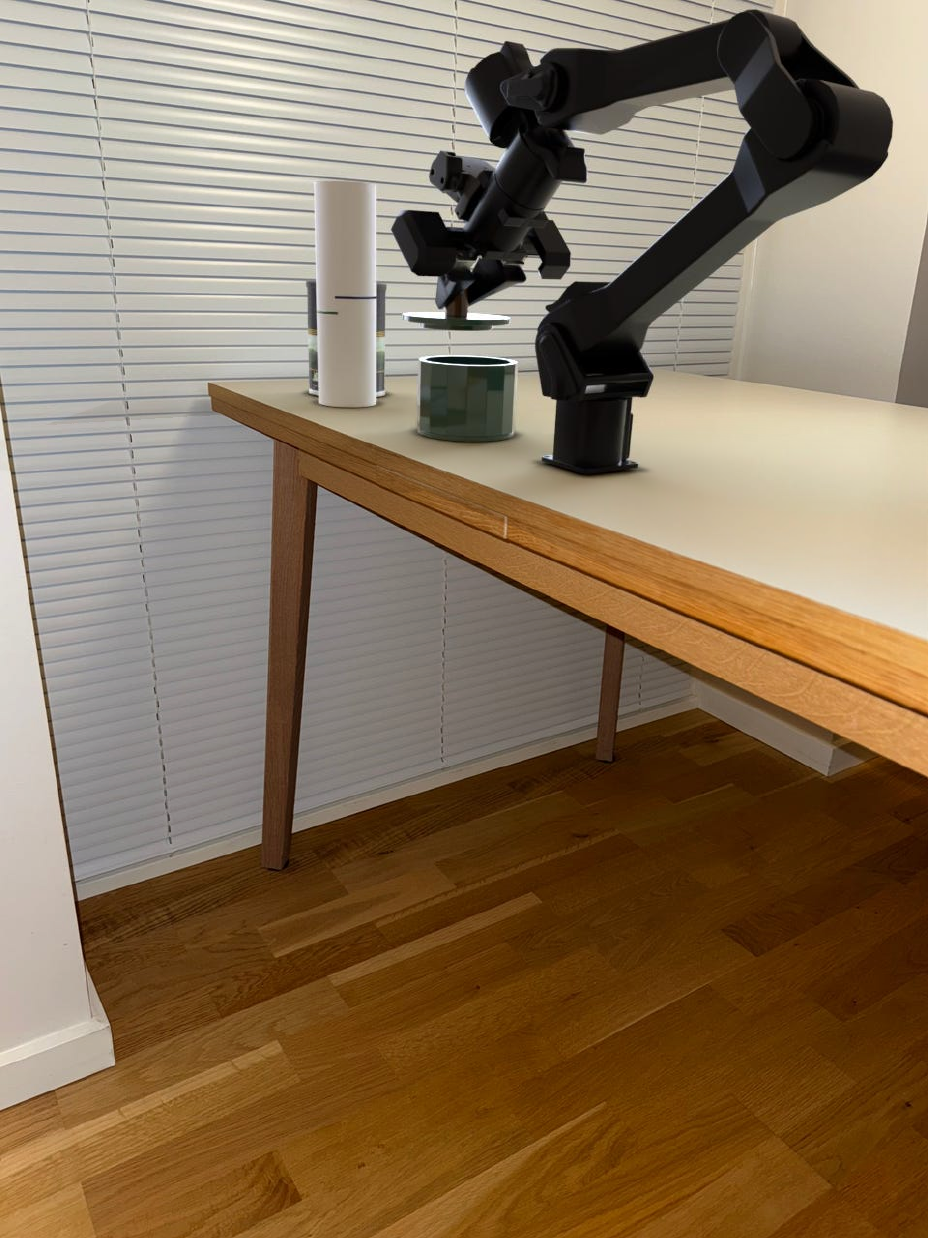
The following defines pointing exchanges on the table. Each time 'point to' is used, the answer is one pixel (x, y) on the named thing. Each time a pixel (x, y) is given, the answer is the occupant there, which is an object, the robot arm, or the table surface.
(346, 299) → the cylindrical container
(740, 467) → the table surface
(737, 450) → the table surface
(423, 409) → the pot
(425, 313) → the lid
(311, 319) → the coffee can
